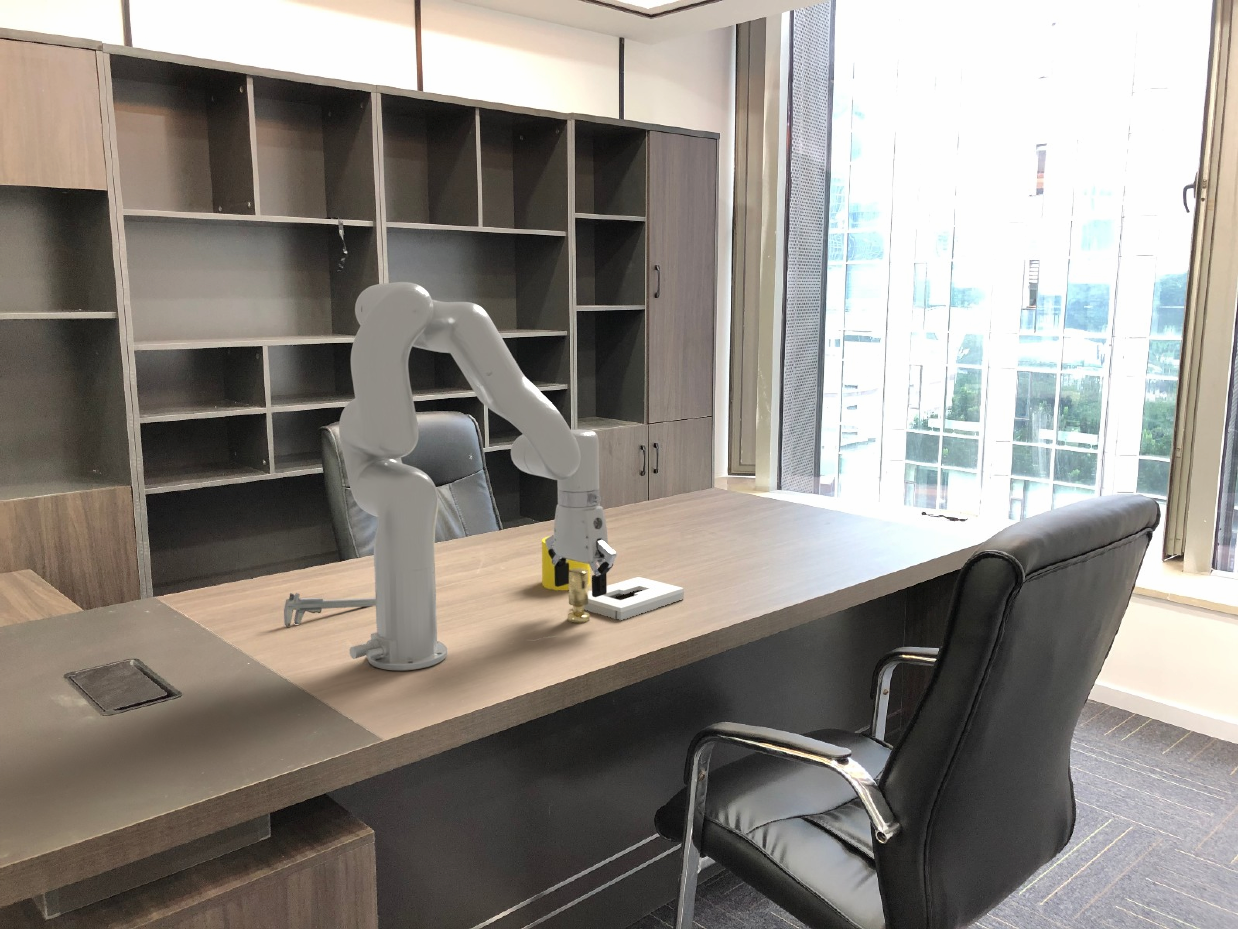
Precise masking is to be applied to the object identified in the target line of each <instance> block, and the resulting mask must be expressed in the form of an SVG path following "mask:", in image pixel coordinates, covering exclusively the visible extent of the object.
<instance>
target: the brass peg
mask: <svg viewBox="0 0 1238 929" xmlns="http://www.w3.org/2000/svg"><path fill="white" fill-rule="evenodd" d="M588 591H589V586H588V570H586V569H571V570H569V591H568V605H570V606H572V611H571V612H568V613H567V621H568V622H569V623H570V624H571V623H572V624H585V623H587V622H590V620H591V619H590V613H589V612H588V611H587V612H586V611H585V610H584V605H587V604H588Z"/></svg>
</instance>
